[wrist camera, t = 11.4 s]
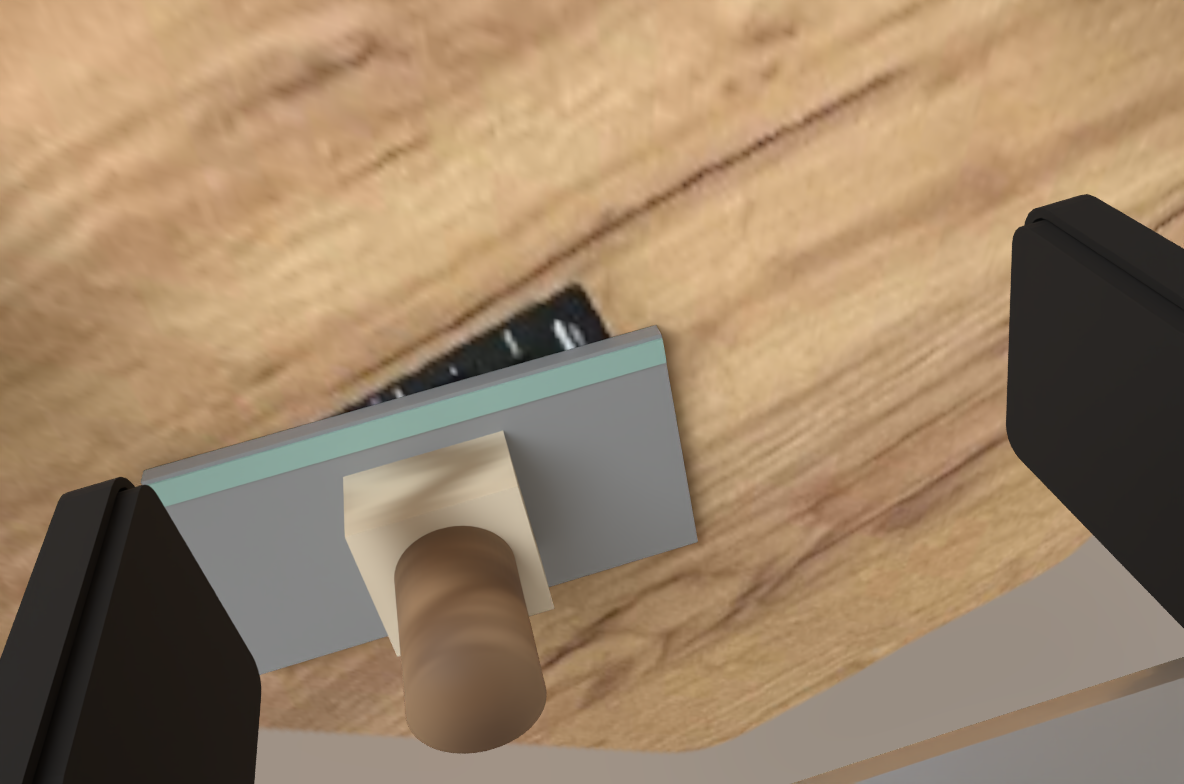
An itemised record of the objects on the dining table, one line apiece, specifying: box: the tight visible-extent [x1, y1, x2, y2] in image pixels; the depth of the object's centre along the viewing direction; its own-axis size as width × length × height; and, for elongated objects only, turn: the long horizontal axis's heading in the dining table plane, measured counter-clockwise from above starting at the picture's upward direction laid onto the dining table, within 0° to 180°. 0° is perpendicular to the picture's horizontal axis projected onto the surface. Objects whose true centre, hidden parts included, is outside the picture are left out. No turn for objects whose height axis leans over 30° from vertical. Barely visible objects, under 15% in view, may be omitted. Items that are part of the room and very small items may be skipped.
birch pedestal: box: [343, 431, 555, 657], centre depth 43 cm, size 7×7×4 cm
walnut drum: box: [394, 526, 546, 753], centre depth 39 cm, size 5×5×7 cm
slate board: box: [141, 325, 698, 675], centre depth 45 cm, size 22×12×1 cm, turn 102°
